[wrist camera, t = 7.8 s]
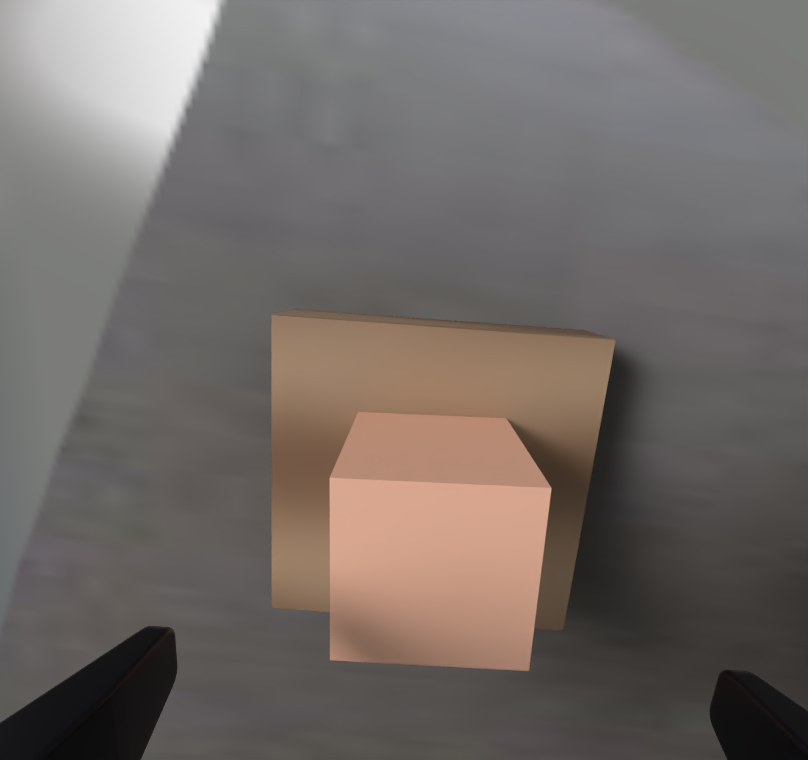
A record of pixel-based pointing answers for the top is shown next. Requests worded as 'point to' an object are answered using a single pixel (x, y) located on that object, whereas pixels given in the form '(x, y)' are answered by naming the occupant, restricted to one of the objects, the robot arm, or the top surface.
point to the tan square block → (427, 395)
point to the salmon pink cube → (435, 542)
